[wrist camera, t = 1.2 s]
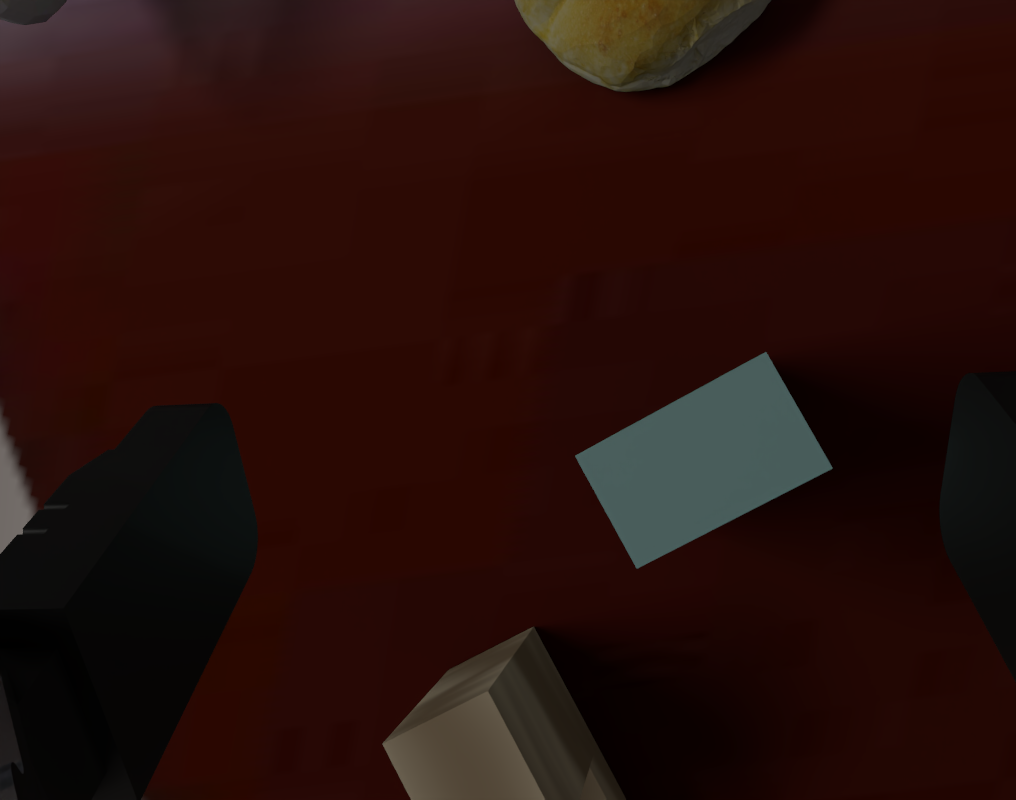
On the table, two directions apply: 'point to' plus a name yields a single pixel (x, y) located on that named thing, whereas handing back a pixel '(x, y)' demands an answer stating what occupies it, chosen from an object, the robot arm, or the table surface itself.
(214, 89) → the table surface
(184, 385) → the table surface
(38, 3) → the mug
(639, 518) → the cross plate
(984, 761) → the table surface
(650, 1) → the bread roll
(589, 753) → the slot plate
